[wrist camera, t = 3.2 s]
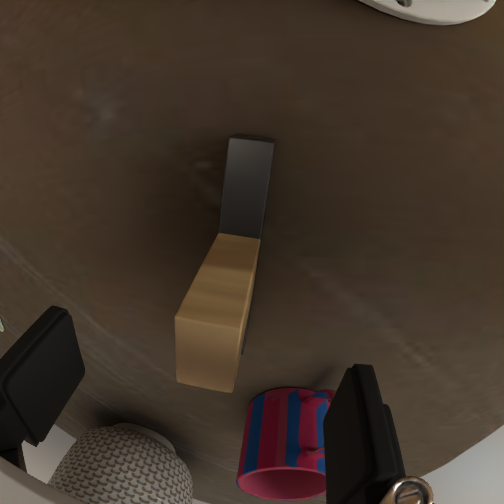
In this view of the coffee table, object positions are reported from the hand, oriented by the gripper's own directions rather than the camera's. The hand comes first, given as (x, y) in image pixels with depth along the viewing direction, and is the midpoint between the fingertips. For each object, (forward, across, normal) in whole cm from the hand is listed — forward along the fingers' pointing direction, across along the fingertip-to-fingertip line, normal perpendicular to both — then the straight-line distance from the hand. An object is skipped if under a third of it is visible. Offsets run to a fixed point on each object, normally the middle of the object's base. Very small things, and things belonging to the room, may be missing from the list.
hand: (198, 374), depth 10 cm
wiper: (+9, 0, -1) cm, 9 cm away
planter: (+9, +8, +23) cm, 26 cm away
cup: (+9, -6, +11) cm, 16 cm away
